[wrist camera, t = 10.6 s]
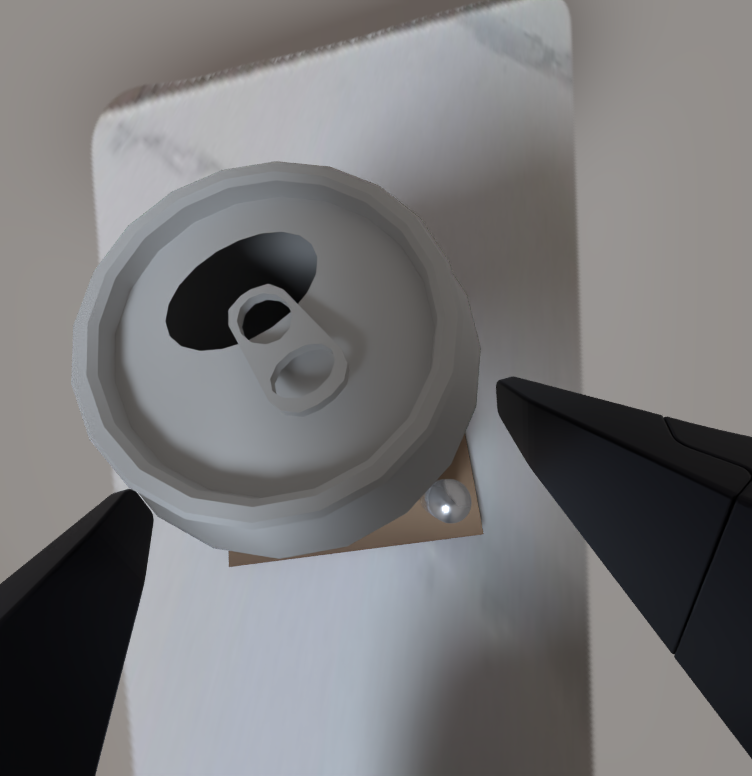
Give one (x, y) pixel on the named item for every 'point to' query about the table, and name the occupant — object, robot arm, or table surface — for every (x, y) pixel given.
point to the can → (276, 359)
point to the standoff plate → (417, 516)
